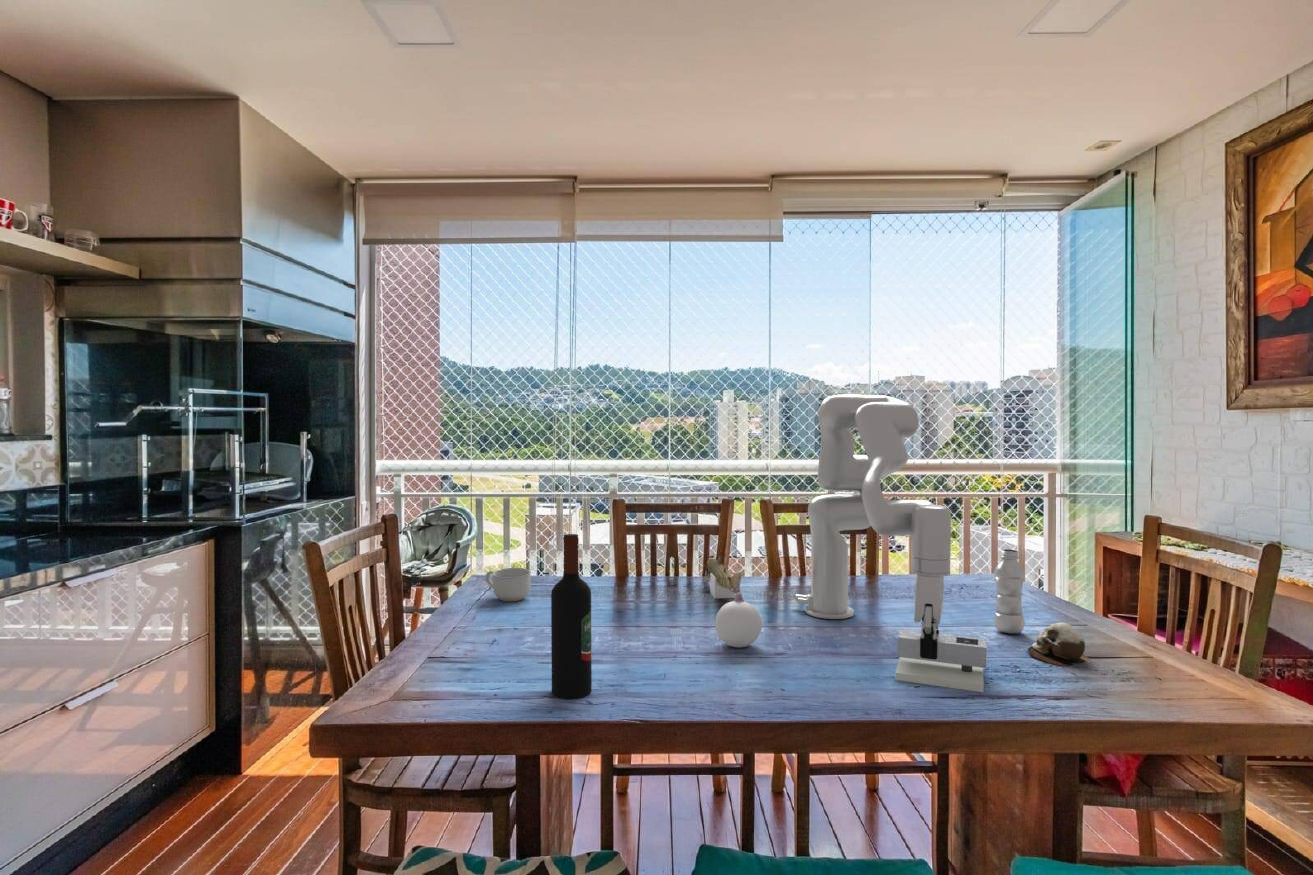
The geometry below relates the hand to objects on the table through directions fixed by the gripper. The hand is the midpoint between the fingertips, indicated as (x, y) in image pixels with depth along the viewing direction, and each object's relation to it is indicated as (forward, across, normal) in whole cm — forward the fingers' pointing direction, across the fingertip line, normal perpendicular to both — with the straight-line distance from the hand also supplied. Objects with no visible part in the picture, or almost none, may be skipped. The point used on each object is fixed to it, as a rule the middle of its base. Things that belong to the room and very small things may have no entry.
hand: (929, 652), depth 148 cm
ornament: (+4, -1, -41) cm, 41 cm away
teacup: (+5, -16, -115) cm, 116 cm away
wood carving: (+5, -42, -58) cm, 72 cm away
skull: (+5, -22, +25) cm, 34 cm away
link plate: (+1, 0, +2) cm, 2 cm away
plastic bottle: (+4, -37, +16) cm, 41 cm away
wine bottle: (+4, +38, -62) cm, 73 cm away
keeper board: (+4, 0, +2) cm, 5 cm away
